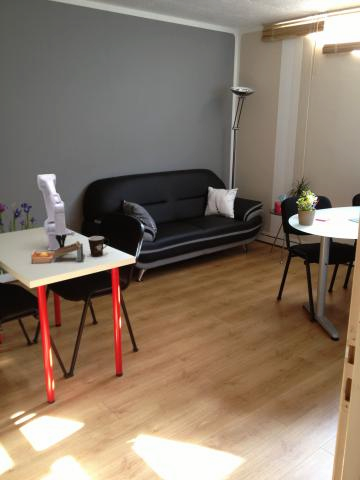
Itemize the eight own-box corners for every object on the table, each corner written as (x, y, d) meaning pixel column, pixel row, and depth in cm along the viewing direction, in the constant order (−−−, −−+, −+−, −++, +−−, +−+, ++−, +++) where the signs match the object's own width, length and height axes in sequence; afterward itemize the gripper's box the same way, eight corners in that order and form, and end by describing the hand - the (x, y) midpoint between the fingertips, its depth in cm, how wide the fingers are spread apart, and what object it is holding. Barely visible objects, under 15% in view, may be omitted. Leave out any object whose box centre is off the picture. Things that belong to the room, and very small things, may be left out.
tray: (35, 257, 243) (34, 249, 241) (54, 257, 244) (53, 248, 242) (31, 263, 233) (30, 254, 232) (51, 263, 234) (50, 254, 233)
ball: (47, 250, 239) (49, 257, 240) (40, 252, 239) (42, 258, 240) (45, 252, 235) (48, 259, 237) (38, 254, 235) (40, 261, 236)
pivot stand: (77, 256, 246) (77, 243, 244) (85, 255, 246) (84, 243, 244) (75, 262, 235) (74, 249, 233) (83, 262, 235) (82, 249, 233)
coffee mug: (89, 258, 242) (88, 240, 239) (89, 253, 250) (88, 236, 248) (110, 256, 244) (109, 239, 242) (109, 252, 252) (108, 235, 250)
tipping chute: (58, 250, 249) (55, 245, 248) (83, 241, 249) (80, 236, 248) (53, 258, 235) (51, 253, 234) (80, 249, 235) (77, 243, 234)
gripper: (45, 226, 238) (47, 250, 242) (72, 225, 240) (74, 249, 243) (47, 223, 245) (49, 246, 249) (74, 222, 246) (75, 245, 250)
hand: (62, 248), depth 246 cm, fingers closed, pressing on tipping chute
